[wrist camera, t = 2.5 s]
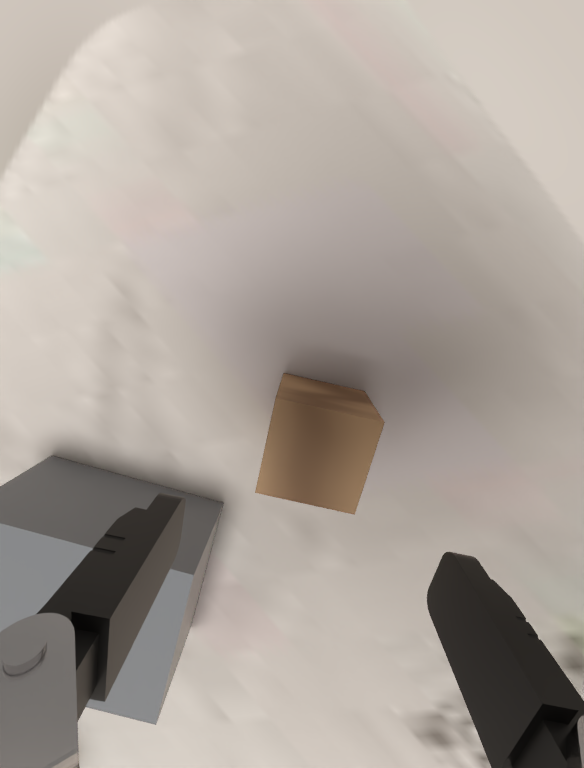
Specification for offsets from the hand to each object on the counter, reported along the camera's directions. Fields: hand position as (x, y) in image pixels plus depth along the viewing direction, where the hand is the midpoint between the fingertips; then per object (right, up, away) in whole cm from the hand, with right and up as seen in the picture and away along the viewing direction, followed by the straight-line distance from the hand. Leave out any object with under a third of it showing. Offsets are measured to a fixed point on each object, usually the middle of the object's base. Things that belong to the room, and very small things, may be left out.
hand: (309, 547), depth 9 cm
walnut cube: (+1, +3, +10) cm, 10 cm away
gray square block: (-13, -7, +13) cm, 20 cm away
